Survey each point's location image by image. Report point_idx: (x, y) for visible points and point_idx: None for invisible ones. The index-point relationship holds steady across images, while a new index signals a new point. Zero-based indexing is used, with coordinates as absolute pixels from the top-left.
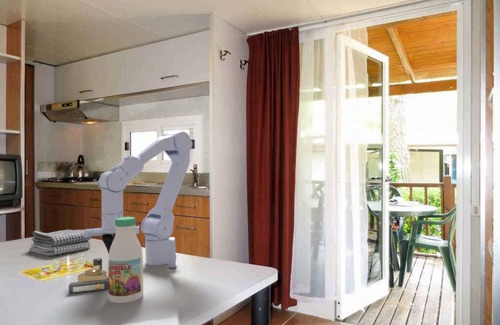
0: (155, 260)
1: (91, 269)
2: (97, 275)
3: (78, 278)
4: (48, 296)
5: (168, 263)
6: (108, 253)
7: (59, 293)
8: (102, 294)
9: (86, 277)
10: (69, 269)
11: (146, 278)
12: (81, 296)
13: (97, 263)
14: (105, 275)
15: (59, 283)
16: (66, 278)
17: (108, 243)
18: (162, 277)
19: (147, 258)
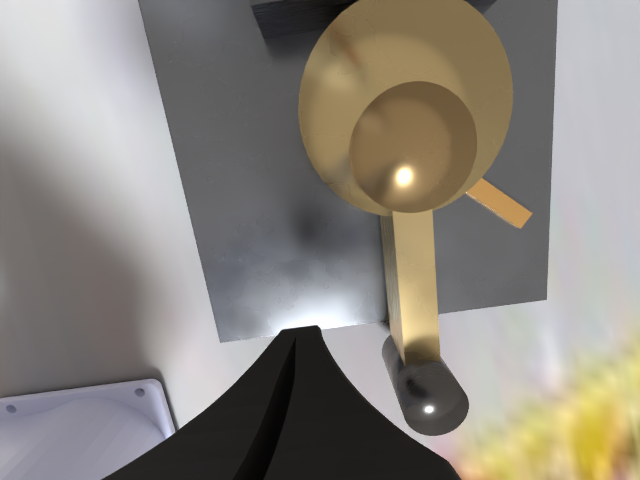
0: (61, 434)
1: (434, 190)
2: (358, 73)
3: (495, 39)
4: (603, 50)
5: (14, 427)
6: (331, 355)
7: None
8: None
9: (436, 33)
10: (567, 467)
11: (113, 252)
12: None
13: (422, 365)
14: (300, 89)
15: (580, 261)
16: (558, 334)
17: (326, 434)
18: (22, 252)
19: (115, 464)
